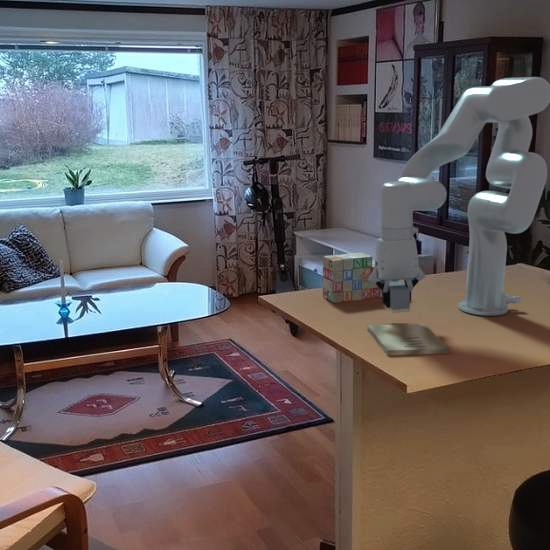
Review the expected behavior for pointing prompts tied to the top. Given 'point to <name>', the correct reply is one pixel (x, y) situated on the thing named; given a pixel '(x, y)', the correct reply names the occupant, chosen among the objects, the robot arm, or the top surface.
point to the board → (407, 339)
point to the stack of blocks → (349, 277)
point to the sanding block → (399, 297)
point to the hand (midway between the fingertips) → (396, 304)
